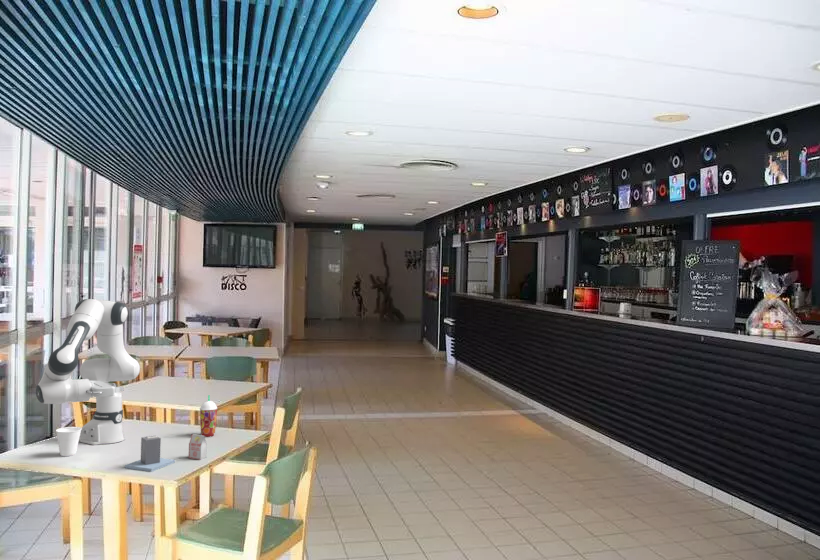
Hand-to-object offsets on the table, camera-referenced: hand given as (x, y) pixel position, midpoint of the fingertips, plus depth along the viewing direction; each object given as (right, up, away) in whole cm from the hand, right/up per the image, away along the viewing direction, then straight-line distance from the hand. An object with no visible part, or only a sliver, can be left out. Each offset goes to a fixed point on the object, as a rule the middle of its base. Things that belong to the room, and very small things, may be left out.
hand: (119, 387), depth 262 cm
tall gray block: (+13, -31, 0) cm, 34 cm away
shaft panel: (+13, -32, 0) cm, 35 cm away
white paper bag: (+28, -33, +13) cm, 45 cm away
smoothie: (+20, -33, +52) cm, 65 cm away
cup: (-28, -32, +12) cm, 44 cm away
